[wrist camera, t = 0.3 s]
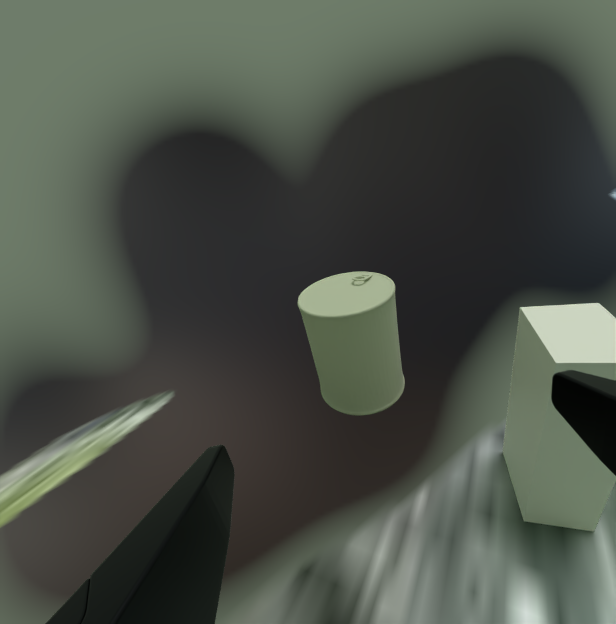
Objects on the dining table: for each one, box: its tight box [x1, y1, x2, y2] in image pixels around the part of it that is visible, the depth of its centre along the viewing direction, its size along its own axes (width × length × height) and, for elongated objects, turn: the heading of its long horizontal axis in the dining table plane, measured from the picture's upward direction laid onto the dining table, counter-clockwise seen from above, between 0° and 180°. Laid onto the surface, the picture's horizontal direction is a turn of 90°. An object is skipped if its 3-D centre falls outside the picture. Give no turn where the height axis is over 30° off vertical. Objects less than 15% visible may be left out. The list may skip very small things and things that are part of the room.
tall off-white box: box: [503, 303, 616, 532], centre depth 18 cm, size 5×4×13 cm
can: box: [298, 272, 405, 415], centre depth 31 cm, size 9×9×12 cm
